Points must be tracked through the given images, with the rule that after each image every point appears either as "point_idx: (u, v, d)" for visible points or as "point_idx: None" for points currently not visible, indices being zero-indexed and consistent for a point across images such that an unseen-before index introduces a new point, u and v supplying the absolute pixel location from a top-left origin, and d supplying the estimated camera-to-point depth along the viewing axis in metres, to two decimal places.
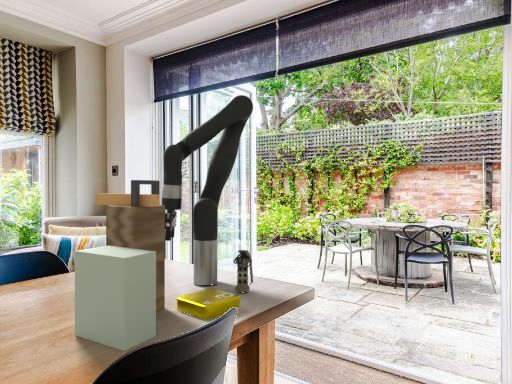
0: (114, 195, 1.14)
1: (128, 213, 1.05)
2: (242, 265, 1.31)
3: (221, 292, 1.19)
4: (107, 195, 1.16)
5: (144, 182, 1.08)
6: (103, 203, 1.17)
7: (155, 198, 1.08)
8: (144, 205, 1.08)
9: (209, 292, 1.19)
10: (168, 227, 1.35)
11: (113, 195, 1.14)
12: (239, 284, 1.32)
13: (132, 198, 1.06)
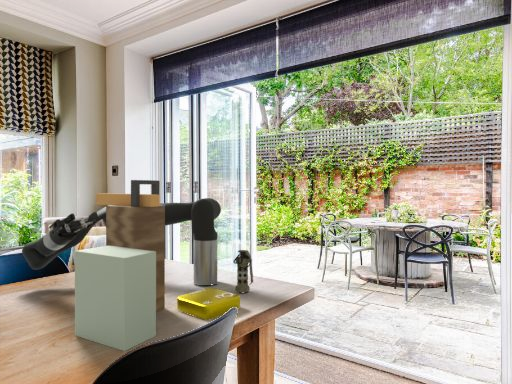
0: (114, 195, 1.14)
1: (128, 213, 1.05)
2: (242, 265, 1.31)
3: (221, 292, 1.19)
4: (107, 195, 1.16)
5: (144, 182, 1.08)
6: (103, 203, 1.17)
7: (155, 198, 1.08)
8: (144, 205, 1.08)
9: (210, 292, 1.19)
10: (56, 222, 1.20)
11: (113, 195, 1.14)
12: (239, 284, 1.32)
13: (132, 198, 1.06)
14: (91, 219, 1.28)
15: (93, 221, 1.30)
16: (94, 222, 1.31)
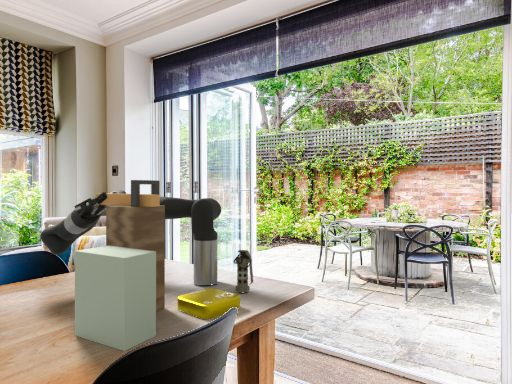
0: (114, 195, 1.14)
1: (128, 213, 1.05)
2: (242, 265, 1.31)
3: (221, 292, 1.19)
4: (107, 195, 1.16)
5: (144, 182, 1.08)
6: (103, 203, 1.17)
7: (155, 198, 1.08)
8: (144, 205, 1.08)
9: (210, 292, 1.19)
10: (88, 201, 1.16)
11: (113, 195, 1.14)
12: (239, 284, 1.32)
13: (132, 198, 1.06)
14: None
15: None
16: None
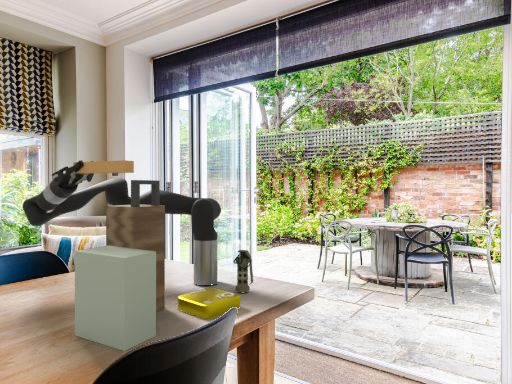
0: (90, 163, 1.16)
1: (128, 213, 1.05)
2: (242, 265, 1.31)
3: (222, 292, 1.19)
4: (83, 163, 1.18)
5: (144, 182, 1.08)
6: (80, 171, 1.19)
7: (129, 164, 1.10)
8: (118, 171, 1.10)
9: (210, 292, 1.19)
10: (65, 169, 1.18)
11: (89, 163, 1.16)
12: (239, 284, 1.32)
13: (132, 198, 1.06)
14: None
15: None
16: (91, 173, 1.24)
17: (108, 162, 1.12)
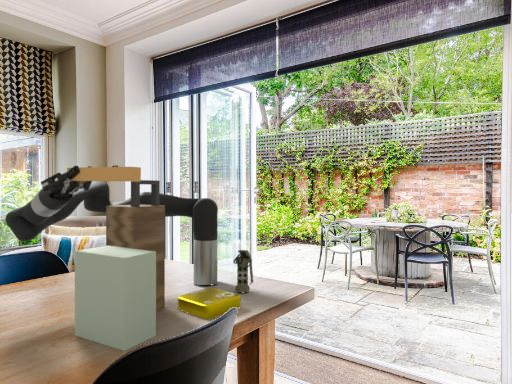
0: (87, 169, 0.96)
1: (128, 213, 1.05)
2: (242, 265, 1.31)
3: (222, 292, 1.19)
4: (79, 169, 0.97)
5: (144, 182, 1.08)
6: (75, 179, 0.98)
7: (135, 171, 0.90)
8: (121, 179, 0.89)
9: (210, 292, 1.19)
10: (57, 177, 0.97)
11: (86, 169, 0.96)
12: (239, 284, 1.32)
13: (132, 198, 1.06)
14: None
15: None
16: (88, 181, 1.04)
17: (109, 168, 0.92)
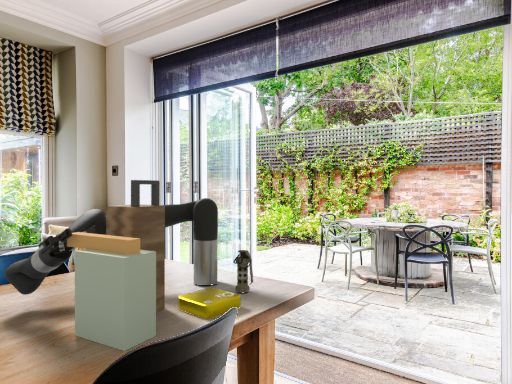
0: (87, 237, 0.96)
1: (128, 213, 1.05)
2: (242, 265, 1.31)
3: (222, 291, 1.19)
4: (79, 236, 0.98)
5: (144, 182, 1.08)
6: (75, 245, 0.99)
7: (135, 243, 0.90)
8: (121, 252, 0.90)
9: (211, 291, 1.19)
10: (49, 240, 0.96)
11: (86, 237, 0.96)
12: (239, 284, 1.32)
13: (132, 198, 1.06)
14: None
15: None
16: None
17: (109, 239, 0.92)
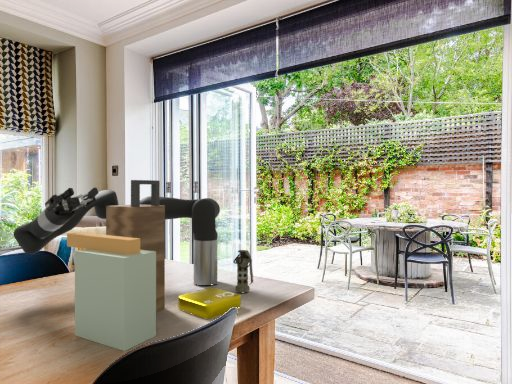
0: (87, 237, 0.96)
1: (128, 213, 1.05)
2: (242, 265, 1.31)
3: (222, 291, 1.20)
4: (79, 236, 0.98)
5: (144, 182, 1.08)
6: (75, 245, 0.99)
7: (135, 243, 0.90)
8: (121, 252, 0.90)
9: (211, 291, 1.19)
10: (53, 198, 1.09)
11: (86, 237, 0.96)
12: (239, 284, 1.32)
13: (132, 198, 1.06)
14: (91, 196, 1.17)
15: (93, 198, 1.20)
16: (94, 199, 1.20)
17: (109, 239, 0.92)
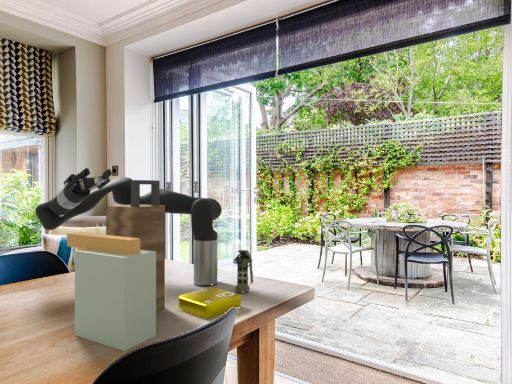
0: (87, 237, 0.96)
1: (128, 213, 1.05)
2: (242, 265, 1.31)
3: (222, 291, 1.20)
4: (79, 236, 0.98)
5: (144, 182, 1.08)
6: (75, 245, 0.99)
7: (135, 243, 0.90)
8: (121, 252, 0.90)
9: (211, 291, 1.19)
10: (71, 177, 1.20)
11: (86, 237, 0.96)
12: (239, 284, 1.32)
13: (132, 198, 1.06)
14: (105, 176, 1.28)
15: (107, 179, 1.30)
16: (108, 180, 1.31)
17: (109, 239, 0.92)
